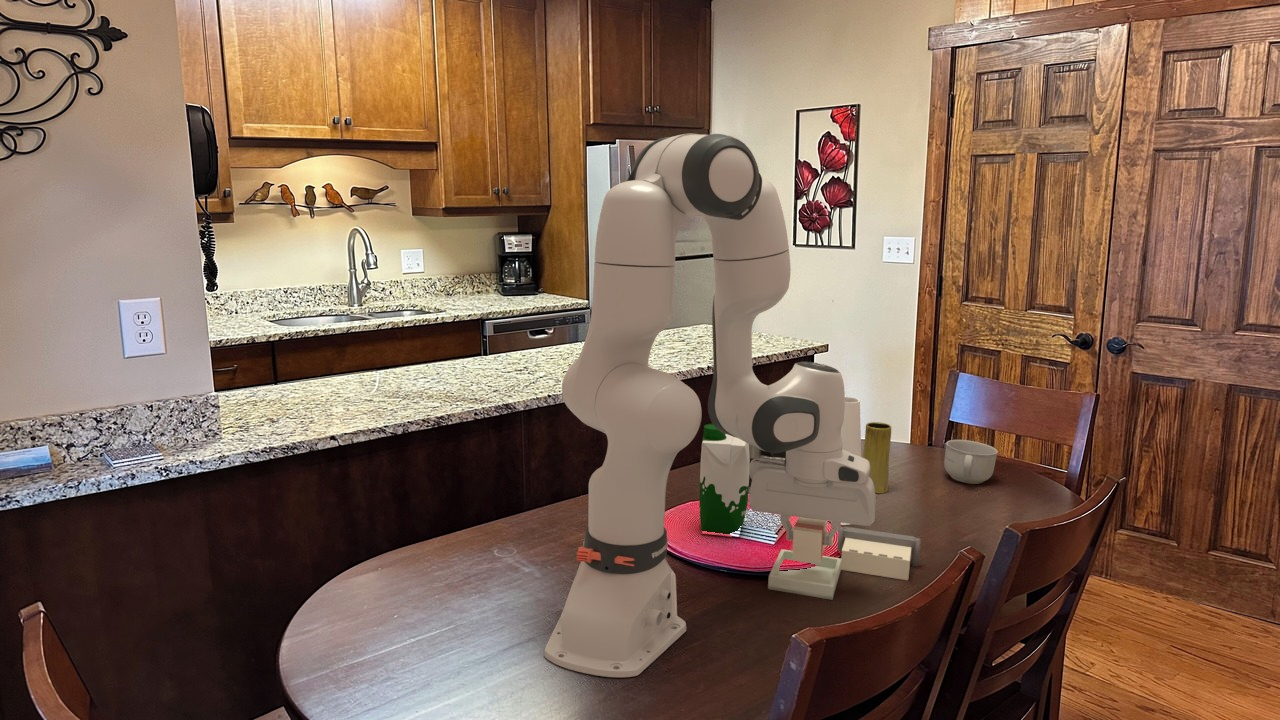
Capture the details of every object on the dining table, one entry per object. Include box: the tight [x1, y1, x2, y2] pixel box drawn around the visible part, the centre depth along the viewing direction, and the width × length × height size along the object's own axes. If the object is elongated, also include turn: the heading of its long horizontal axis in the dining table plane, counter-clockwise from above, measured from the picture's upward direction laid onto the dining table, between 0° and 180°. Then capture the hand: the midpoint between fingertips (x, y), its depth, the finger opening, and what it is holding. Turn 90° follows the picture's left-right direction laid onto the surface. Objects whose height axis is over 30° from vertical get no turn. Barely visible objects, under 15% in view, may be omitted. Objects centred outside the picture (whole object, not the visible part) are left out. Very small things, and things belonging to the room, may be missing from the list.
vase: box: [862, 421, 892, 495], centre depth 183 cm, size 6×6×14 cm
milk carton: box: [698, 423, 750, 534], centre depth 159 cm, size 9×9×20 cm
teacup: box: [943, 439, 998, 485], centre depth 189 cm, size 14×11×8 cm
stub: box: [792, 517, 828, 563], centre depth 139 cm, size 7×4×5 cm, turn 161°
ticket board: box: [836, 526, 922, 581], centre depth 146 cm, size 8×14×5 cm, turn 70°
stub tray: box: [767, 548, 842, 601], centre depth 140 cm, size 11×10×2 cm
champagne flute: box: [840, 396, 862, 526], centre depth 165 cm, size 7×7×24 cm
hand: (809, 541), depth 140 cm, fingers closed on stub, 4 cm apart
